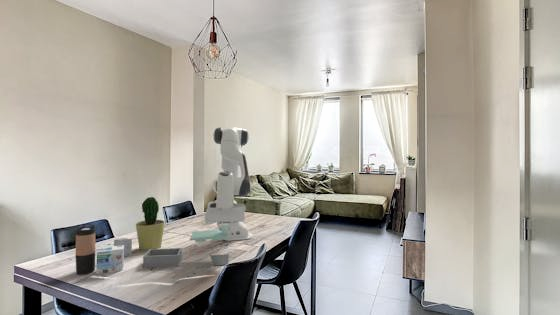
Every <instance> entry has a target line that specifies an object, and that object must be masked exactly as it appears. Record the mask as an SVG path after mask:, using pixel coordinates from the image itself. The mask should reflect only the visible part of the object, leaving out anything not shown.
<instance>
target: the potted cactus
mask: <svg viewBox="0 0 560 315" xmlns="http://www.w3.org/2000/svg"><path fill="white" fill-rule="evenodd" d="M159 206H160V205H159V201H158V200H157V198H155V197H154V196H150V197H146V198H145V199H144V200H143V202H142V203H141V208H140V209H142V210H141V213H142V214H143V215H144V216H143V218H144V220H140V221H137V222H135V228H136V234H137V240H138V247H139V250H140V251H148V250H149V249H162V242H163V235H164V230H165V220H162V219H158V214H159V210H160V209H159Z"/></svg>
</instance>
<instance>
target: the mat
mask: <svg viewBox="0 0 560 315" xmlns="http://www.w3.org/2000/svg"><path fill="white" fill-rule="evenodd" d="M229 256H230V255H229V254H228V253H227V254H226V253H225V254H210V259H211V262H212V265H213V266H214V267H219V266H220V267H222V266H227V265H226V264H228V263H229V261H230V260H229V259H230V257H229ZM228 265H229V264H228Z"/></svg>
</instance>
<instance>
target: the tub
mask: <svg viewBox="0 0 560 315" xmlns="http://www.w3.org/2000/svg"><path fill="white" fill-rule="evenodd" d="M156 255H157V256H156ZM142 258H143V259H142V268H143V269H147V268H149V269H150V268H163V267H164V268H165V267H167V268H168V267H179V266H180V265H181V262H182V260H183V247H175V248H170V247H169V248H157V249H149V250H147V252H146V253H145V254H144V255H143V257H142Z"/></svg>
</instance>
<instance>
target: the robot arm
mask: <svg viewBox="0 0 560 315" xmlns="http://www.w3.org/2000/svg"><path fill="white" fill-rule="evenodd" d="M212 136H213V137H212V138H213V141H214V143H215V144H218V145H219V146H220V149H219V150H220V156H221V170H223V171H220V172H219V173H218V174H217V177H216V178H215V179H214V180H213V181H212V189H213V191H214V192H215V193H216V200H211V201H209V202H208V203H207V208H206V210H205V213H204V222H205V223H216V225H217V227H218V230H219V231H222V224H228V238H223V240H224V241H227V242H230V241H241V240H250V239H252V237H253V234H252V233H251V232H250V231H249V228H248V227H249V226H248V225H247V224H245V223H244V222H245V220H246V218H245V217H246V216H245V212H246V208H247V207H246V205H245V204H244V203H238V202H237V201H236V200H235V196H240V197H241V196H243V197H245V196H248V194H250V193H251V191H252V182H251V179H250V176H249V175H250V174H249V171H248V170H249V169H248V162H247V159H246V158H247V157H246V155H245V153H244V152H243V151H241V148H242V147H243V146H245V145H246V144H248V141H249V139H250V135H249V131H248V130H247V129H245V128H240V127H239V128H238V127H217V128H215V130H214V131H213V134H212ZM240 173H241V174H240ZM223 240H222V241H223Z"/></svg>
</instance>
